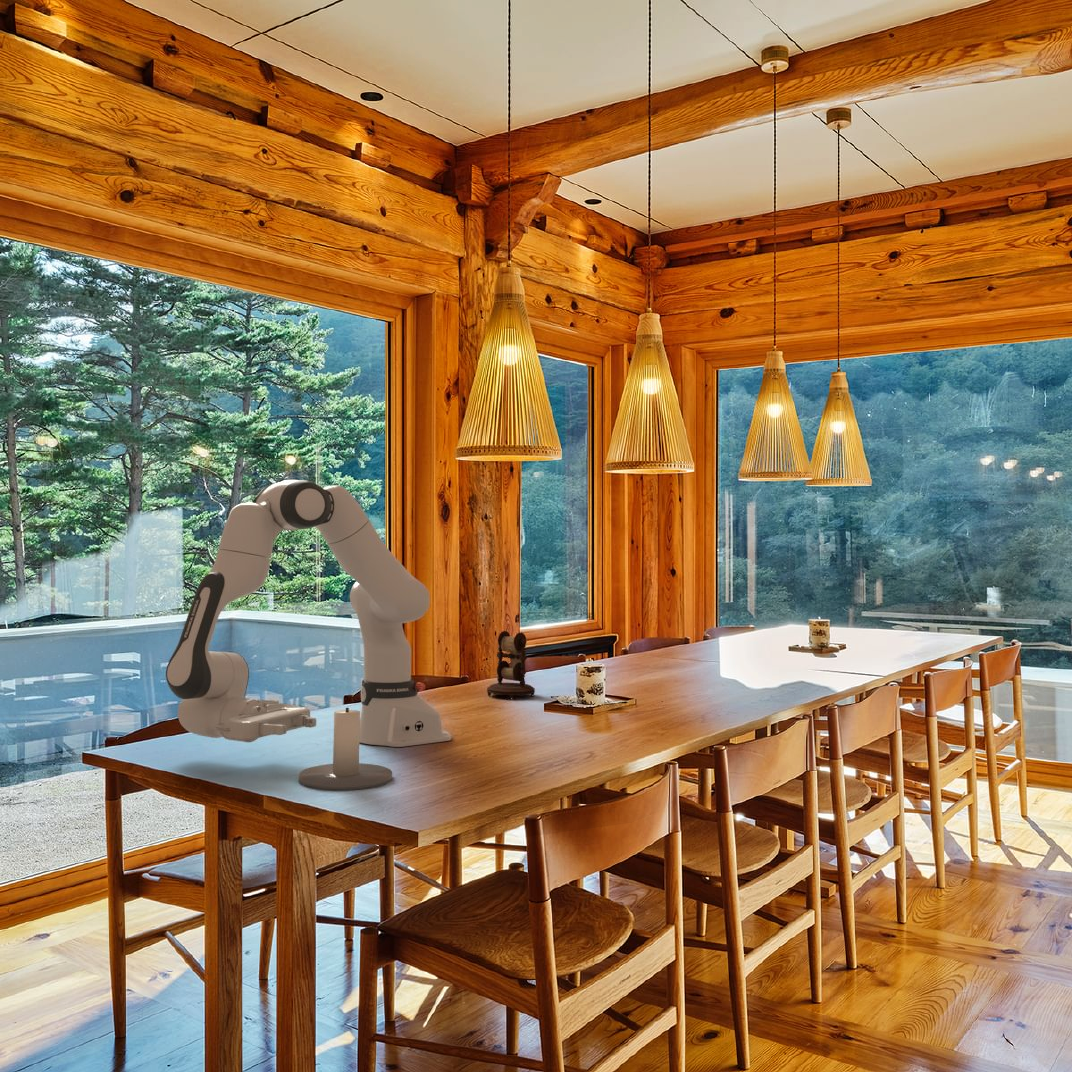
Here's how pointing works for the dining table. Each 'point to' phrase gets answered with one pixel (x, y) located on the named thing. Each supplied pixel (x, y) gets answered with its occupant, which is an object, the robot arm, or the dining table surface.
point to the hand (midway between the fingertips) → (299, 726)
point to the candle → (346, 742)
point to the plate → (345, 778)
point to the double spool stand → (517, 666)
